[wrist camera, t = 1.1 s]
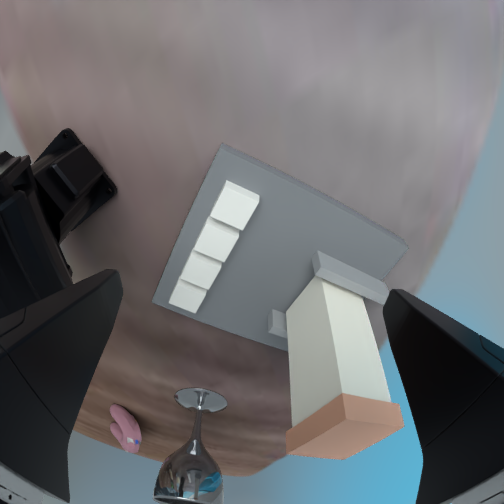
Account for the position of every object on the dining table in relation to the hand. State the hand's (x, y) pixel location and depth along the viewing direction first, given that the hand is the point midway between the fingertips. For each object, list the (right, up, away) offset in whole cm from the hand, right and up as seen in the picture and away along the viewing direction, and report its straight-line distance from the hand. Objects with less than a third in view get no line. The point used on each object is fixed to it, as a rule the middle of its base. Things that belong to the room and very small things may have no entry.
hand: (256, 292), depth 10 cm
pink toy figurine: (-20, -26, +35) cm, 48 cm away
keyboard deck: (+2, 0, +16) cm, 16 cm away
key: (+6, -3, +16) cm, 17 cm away
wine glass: (-7, -18, +29) cm, 35 cm away
